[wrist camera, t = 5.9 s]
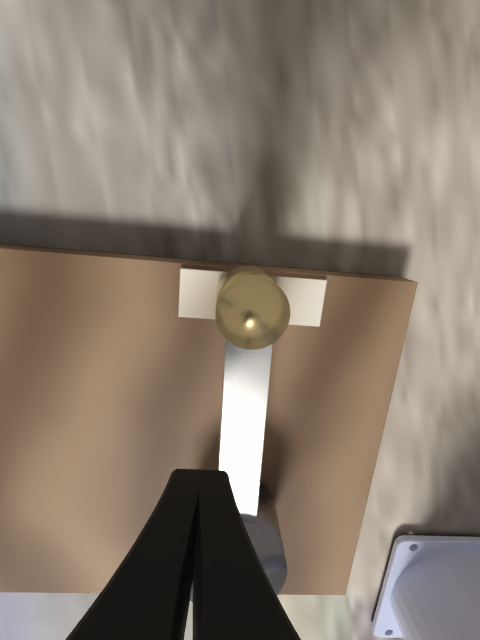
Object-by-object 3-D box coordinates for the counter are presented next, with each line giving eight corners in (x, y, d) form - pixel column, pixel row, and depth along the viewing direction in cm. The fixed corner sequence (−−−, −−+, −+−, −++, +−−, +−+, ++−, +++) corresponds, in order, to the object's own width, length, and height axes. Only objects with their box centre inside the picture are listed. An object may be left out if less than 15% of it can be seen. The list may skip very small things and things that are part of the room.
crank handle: (266, 592, 19) (278, 688, 15) (185, 593, 18) (175, 692, 14) (302, 267, 14) (333, 285, 10) (192, 261, 13) (181, 277, 10)
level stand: (399, 277, 16) (420, 283, 14) (336, 569, 21) (346, 599, 19) (-53, 239, 14) (-89, 241, 13) (-7, 564, 19) (-29, 596, 18)
